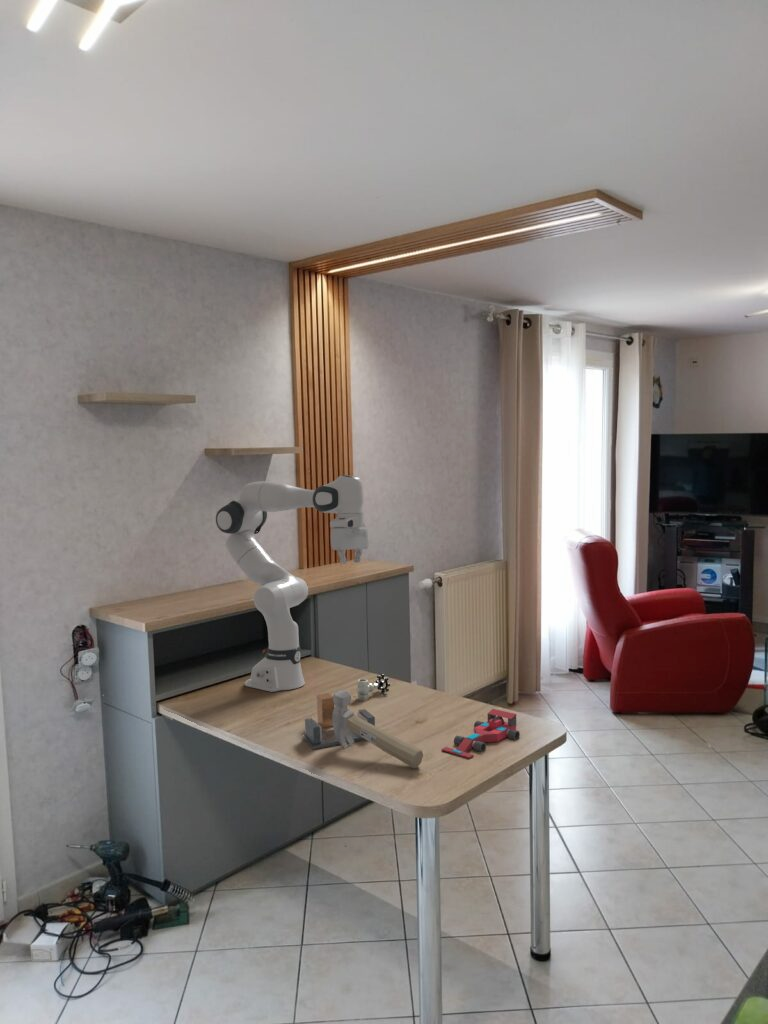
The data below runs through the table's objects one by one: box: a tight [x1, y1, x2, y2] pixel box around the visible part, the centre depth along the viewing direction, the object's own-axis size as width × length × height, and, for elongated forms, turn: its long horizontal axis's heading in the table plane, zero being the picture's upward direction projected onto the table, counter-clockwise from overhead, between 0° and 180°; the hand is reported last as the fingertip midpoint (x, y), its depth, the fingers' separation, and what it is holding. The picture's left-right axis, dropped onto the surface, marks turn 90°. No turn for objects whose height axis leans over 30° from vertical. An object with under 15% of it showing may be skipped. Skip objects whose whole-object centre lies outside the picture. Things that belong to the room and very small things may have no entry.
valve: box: [356, 673, 391, 701], centre depth 266 cm, size 7×7×12 cm
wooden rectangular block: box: [316, 692, 335, 729], centre depth 239 cm, size 5×4×9 cm
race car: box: [441, 708, 521, 759], centre depth 220 cm, size 14×6×25 cm
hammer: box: [332, 689, 424, 769], centre depth 212 cm, size 16×5×30 cm
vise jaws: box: [302, 708, 376, 750], centre depth 227 cm, size 10×20×6 cm, turn 113°
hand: (350, 563), depth 261 cm, fingers open, 8 cm apart
